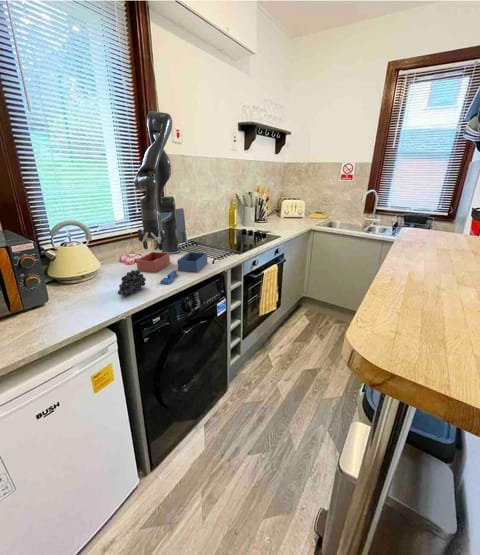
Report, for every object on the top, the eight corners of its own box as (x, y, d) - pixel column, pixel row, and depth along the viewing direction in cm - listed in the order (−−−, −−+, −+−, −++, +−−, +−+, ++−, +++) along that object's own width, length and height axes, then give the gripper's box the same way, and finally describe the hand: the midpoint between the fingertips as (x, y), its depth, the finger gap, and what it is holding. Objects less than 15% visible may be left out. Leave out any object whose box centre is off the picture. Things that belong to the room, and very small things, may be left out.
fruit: (120, 279, 104) (143, 265, 117) (104, 283, 107) (129, 269, 120) (130, 299, 106) (151, 283, 120) (114, 302, 110) (137, 287, 123)
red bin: (137, 270, 139) (136, 260, 137) (153, 261, 152) (152, 251, 150) (155, 272, 136) (154, 261, 134) (170, 262, 150) (169, 253, 148)
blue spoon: (168, 284, 122) (168, 279, 121) (160, 283, 123) (159, 278, 122) (179, 275, 133) (179, 270, 132) (172, 274, 133) (171, 269, 132)
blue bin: (178, 270, 139) (177, 260, 137) (190, 261, 152) (189, 251, 150) (196, 272, 136) (196, 261, 134) (207, 263, 150) (207, 253, 148)
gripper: (166, 217, 138) (169, 248, 144) (141, 216, 141) (145, 246, 147) (158, 220, 131) (162, 252, 137) (132, 218, 134) (137, 250, 140)
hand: (153, 249), depth 142 cm, fingers open, 8 cm apart
